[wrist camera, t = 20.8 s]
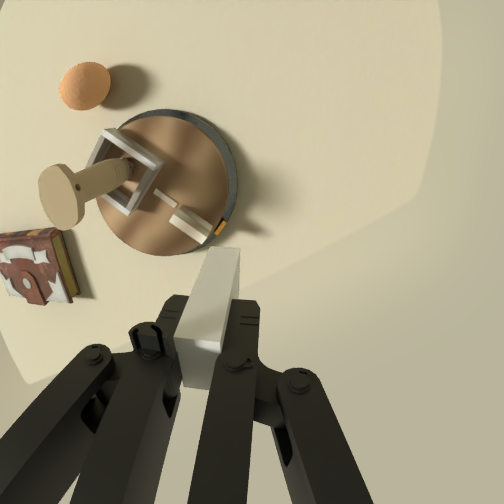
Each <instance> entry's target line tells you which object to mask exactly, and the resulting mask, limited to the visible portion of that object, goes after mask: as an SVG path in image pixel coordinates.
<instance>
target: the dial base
mask: <svg viewBox="0 0 504 504" xmlns="http://www.w3.org/2000/svg"><path fill="white" fill-rule="evenodd" d="M151 116H169V117H175V118H180V119H183V120H185V121H188V122H190V123H192V124H194V125H196V126H197V127H199V128H200V129H201V130H203V131H204V132H205V133H206V134H207V135H208V136H209V137H210V138H211V139H212V140H213V141H214V143H215V144H216V146H217V147H218V148H219V150H220V152H221V154H222V156H223V158H224V161H225V164H226V167H227V172H228V178H229V195H228V201H227V205H226V208H225V211H224V213H223V215H222V217H221V219H220V222H219V224H218V225H217V227H216V228H215V230H214V231H213V233H212V234H211V235H210V236H209V237H208V238H207V239H206V240H205V241H204V242H203V244H200V245H199V246H197V247H196V248H194V249H192V250H190V251H188V252H185V253H189V252H192V251H194V250H197V249H199V248H201V247H203V246H204V245H206V244H207V243H209V242H210V241H211V240H212V239H214V238H215V237H216V236H218V235H219V233H220V232H221V230H222V229H223V228H224V226H225V225H226V224H227V221H228V219H229V217H230V215H231V213H232V210H233V207H234V204H235V200H236V195H237V184H238V183H237V172H236V167H235V162H234V160H233V157H232V154H231V152H230V150H229V148H228V146H227V144H226V143H225V141H224V140H223V138H222V137H221V136H220V134H219V133H218V132H217V131H216V130H215V129H214V128H213V127H212V126H210V125H209V124H208V123H207V122H205V121H204V120H202V119H200V118H199V117H197V116H194V115H192V114H190V113H187V112H183V111H179V110H170V109H159V110H152V111H147V112H144V113H141V114H139V115H137V116H135V117H133V118H131V119H129V120H128V121H126V122H125V123H124V124H122V125H121V126H120V127H119V128H118V129H117V130H120V129H121V128H122V127H124V126H125V125H127V124H129V123H131V122H133V121H135V120H138V119H141V118H145V117H151ZM185 253H182V254H185ZM178 255H179V254H178ZM155 256H156V255H155Z"/></svg>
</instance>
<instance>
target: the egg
mask: <svg viewBox="0 0 504 504" xmlns="http://www.w3.org/2000/svg"><path fill="white" fill-rule="evenodd" d="M110 85H111V79H110V74H109V72H108V71H107V69H106V68H105V67H104V66H102V65H101V64H98V63H95V62H84V63H81V64H78V65H76V66H74V67H73V68H71V69H70V70H69V71H68V72H67V73H66V74H65V75H64V77H63V78H62V80H61V83H60V88H59V90H60V96H61V98H62V100H63V102H64V103H65V104H66V105H67V106H68V107H70V108H72V109H74V110H81V111H82V110H89V109H92V108H94V107H96V106H97V105H99V104H100V103H101V102H102V101H103V100H104V99H105V98H106V96H107V94H108V92H109V90H110Z"/></svg>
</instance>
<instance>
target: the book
mask: <svg viewBox="0 0 504 504" xmlns="http://www.w3.org/2000/svg"><path fill="white" fill-rule="evenodd" d="M0 274H1V277H2V280H3V282H4V285H5V287H6V289H7V292H8V294H9V296H16V297H23V298H26V299H27V301H28V303H30V304H37V305H44V306H45V305H46V304H47V303H48V302H49V301H54V302H62V303H73V300H72V297H73V296H74V295H75V294H76V295H80V294H81V293H80V291H79V288H78V285H77V282H76V279H75V276H74V273H73V270H72V267H71V264H70V261H69V258H68V254H67V251H66V248H65V244H64V240H63V237H62V233H61V232H60V230H59V229H57V228H46V229H37V230H28V231H20V232H12V233H4V234H0Z"/></svg>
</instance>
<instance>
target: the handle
mask: <svg viewBox="0 0 504 504" xmlns="http://www.w3.org/2000/svg"><path fill="white" fill-rule="evenodd" d="M133 168H134V164H133V163H131V162H129V161H128V160H127V158H125V157H122V158H113V159H108V160H104V161H101V162H98V163H96V164H94V165H92V166H90V167H87V168H85V169H83V170H81V171H79V172H77V173H73V172H72V171H71V169H70V168H69V167H67V166H66V165H65V164H56V165H53V166H50V167H48V168H46V169H45V170H44V171H43V172H42V173H41V175H40V177H39V180H38V183H39V196H40V200H41V203H42V206H43V208H44V211H45V213H46V215H47V217H48V218H49V220H50V221H51V222H52V223H53V224H54V226H55V227H56V228H57V229H59V230H63V231H64V230H69V229H71V228H72V227H74V226H75V225H77V224H78V223H79V222H80V221H81V220H82V218H83V217H84V212H85V202H87V201H89V200H92V199H94V198H96V197H99V196H101V195H104V194H106V193H109V192H111V191H113V190H115V189H116V188H118V187H119V186H121V185H122V184H123V183H124V182H125V181H126V180H127V179H128V180H129V179H130V178H131V177H132V176H133V174H132V170H133Z"/></svg>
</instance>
